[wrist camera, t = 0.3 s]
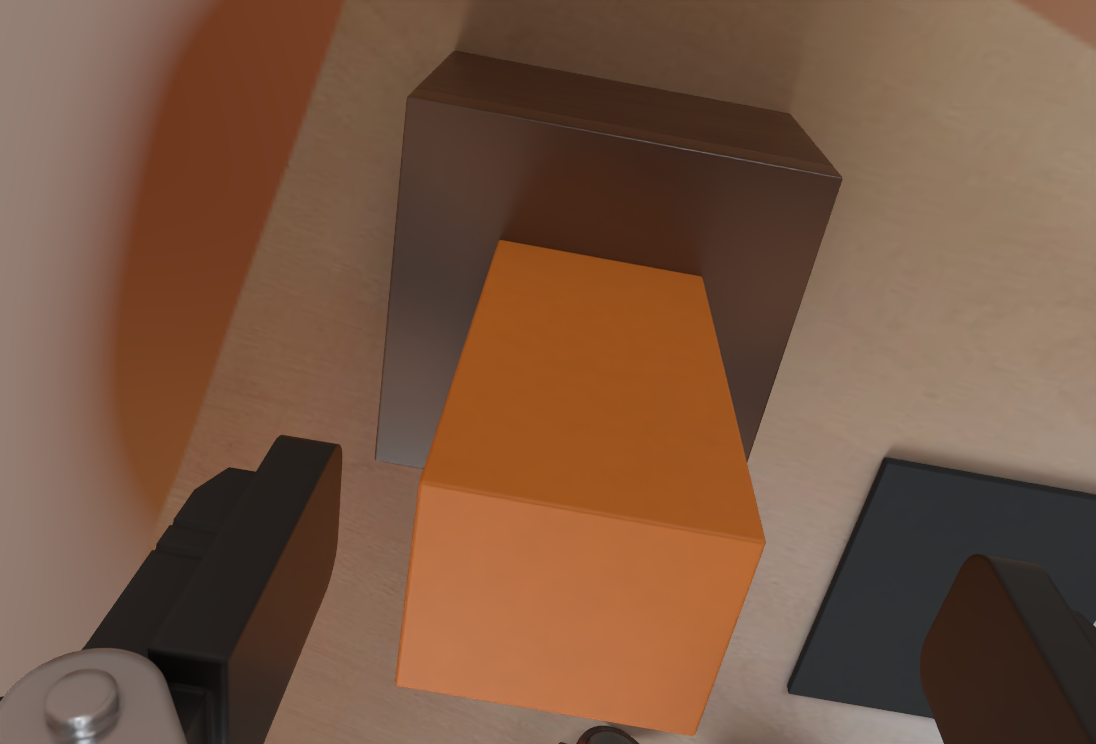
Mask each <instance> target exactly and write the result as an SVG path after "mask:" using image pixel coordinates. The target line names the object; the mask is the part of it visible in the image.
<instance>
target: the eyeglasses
mask: <svg viewBox="0 0 1096 744" xmlns="http://www.w3.org/2000/svg"><path fill="white" fill-rule="evenodd" d="M559 744H566V743H563V742H560V743H559ZM577 744H639V743H638V742H637V741H636V740H635V739H633V738H632V737H631V736H629V735H628V734H626V733H624V732H623V731H621V730H618V729H616V728H613V727H609V726H597V727H593V728H591V729H589V730H587V731H586V732H585V733H584V734H583V735H582V736H581V737H580V738H579V740H578V742H577Z"/></svg>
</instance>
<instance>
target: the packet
mask: <svg viewBox="0 0 1096 744" xmlns="http://www.w3.org/2000/svg"><path fill="white" fill-rule="evenodd" d="M765 544H766V541H765V537H764V532H763V528H762V524H761V520H760V516H759V512H758V507H757V503H756V499H755V495H754V491H753V487H752V482H751V478H750V474H749V470H748V466H747V462H746V457H745V453H744V449H743V445H742V441H741V437H740V432H739V428H738V424H737V420H736V416H735V412H734V407H733V403H732V399H731V395H730V391H729V387H728V382H727V378H726V374H725V370H724V366H723V362H722V357H721V353H720V349H719V345H718V341H717V337H716V332H715V328H714V324H713V320H712V316H711V312H710V307H709V303H708V299H707V295H706V291H705V287H704V282H703V278H702V277H701V276H696V275H690V274H685V273H679V272H674V271H668V270H663V269H657V268H652V267H647V266H641V265H636V264H630V263H625V262H619V261H614V260H608V259H603V258H597V257H592V256H586V255H581V254H575V253H570V252H564V251H559V250H554V249H548V248H543V247H537V246H532V245H526V244H521V243H515V242H510V241H504V240H499V241H498V244H497V247H496V250H495V253H494V256H493V259H492V262H491V265H490V268H489V271H488V274H487V277H486V280H485V283H484V286H483V289H482V292H481V295H480V298H479V301H478V304H477V308H476V311H475V314H474V317H473V320H472V323H471V326H470V329H469V332H468V335H467V338H466V341H465V344H464V347H463V350H462V353H461V356H460V359H459V362H458V365H457V368H456V371H455V374H454V377H453V381H452V384H451V387H450V390H449V393H448V396H447V399H446V402H445V405H444V408H443V411H442V414H441V417H440V420H439V423H438V426H437V429H436V432H435V435H434V438H433V441H432V444H431V447H430V451H429V454H428V457H427V460H426V463H425V466H424V469H423V472H422V475H421V478H420V481H419V487H418V496H417V504H416V512H415V520H414V529H413V537H412V545H411V554H410V562H409V570H408V578H407V587H406V595H405V603H404V612H403V620H402V628H401V636H400V645H399V653H398V661H397V670H396V678H395V682H396V685H397V686H400V687H406V688H412V689H418V690H424V691H430V692H436V693H442V694H448V695H453V696H459V697H465V698H471V699H477V700H483V701H489V702H495V703H501V704H507V705H512V706H518V707H524V708H530V709H536V710H542V711H548V712H554V713H560V714H565V715H571V716H577V717H583V718H589V719H595V720H601V721H607V722H613V723H618V724H624V725H630V726H636V727H642V728H648V729H654V730H660V731H666V732H671V733H677V734H683V735H689V736H694V735H695V733H696V731H697V728H698V725H699V723H700V720H701V717H702V715H703V712H704V709H705V706H706V704H707V701H708V698H709V696H710V693H711V690H712V687H713V685H714V682H715V679H716V677H717V674H718V671H719V668H720V666H721V663H722V660H723V658H724V655H725V652H726V649H727V647H728V644H729V641H730V639H731V636H732V633H733V630H734V628H735V625H736V622H737V620H738V617H739V614H740V611H741V609H742V606H743V603H744V601H745V598H746V595H747V592H748V590H749V587H750V584H751V582H752V579H753V576H754V574H755V571H756V568H757V565H758V563H759V560H760V557H761V555H762V552H763V549H764V546H765Z"/></svg>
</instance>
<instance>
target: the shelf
mask: <svg viewBox="0 0 1096 744" xmlns="http://www.w3.org/2000/svg"><path fill="white" fill-rule="evenodd" d="M841 182H842V176H841V175H840V174H839V173H838V171H837V170H836V169H835V168H834V167H833V165H832V164H831V163H830V161H829V160H828V159H827V158H826V157H825V155H824V154H823V153H822V152H821V151H820V149H819V148H818V147H817V146H816V145H815V143H814V142H813V141H812V140H811V139H810V137H809V136H808V135H807V134H806V132H805V131H804V130H803V129H802V128H801V126H800V125H799V124H798V123H797V122H796V120H795V119H794V118H793V117H792V116H791V114H788V113H782V112H777V111H772V110H766V109H761V108H756V107H750V106H745V105H740V104H734V103H729V102H724V101H718V100H713V99H708V98H702V97H697V96H692V95H686V94H681V93H676V92H670V91H665V90H660V89H654V88H649V87H644V86H638V85H633V84H628V83H623V82H617V81H612V80H607V79H601V78H596V77H591V76H585V75H580V74H575V73H569V72H564V71H559V70H553V69H548V68H543V67H537V66H532V65H527V64H521V63H516V62H511V61H505V60H500V59H495V58H489V57H484V56H479V55H473V54H468V53H463V52H457V51H453V52H452V53H451V54H450V55H449V56H448V57H447V58H446V59H445V60H444V61H443V62H442V63H441V64H440V65H439V66H438V67H437V68H436V69H435V70H434V71H433V72H432V73H431V74H430V75H429V76H428V77H427V78H426V79H425V80H424V81H423V82H422V83H421V84H420V85H419V86H418V87H417V88H416V89H415V90H414V91H413V92H412V93H411V94H410V95H409V96H408V97H407V103H406V114H405V125H404V136H403V147H402V159H401V170H400V181H399V192H398V203H397V214H396V226H395V237H394V248H393V259H392V270H391V282H390V293H389V304H388V315H387V326H386V338H385V349H384V360H383V371H382V382H381V393H380V405H379V416H378V427H377V438H376V449H375V460H376V461H380V462H386V463H392V464H397V465H403V466H409V467H415V468H420V469H424V466H425V463H426V460H427V457H428V454H429V451H430V447H431V444H432V441H433V438H434V435H435V432H436V429H437V426H438V423H439V420H440V417H441V414H442V411H443V408H444V405H445V402H446V399H447V396H448V393H449V390H450V387H451V384H452V381H453V377H454V374H455V371H456V368H457V365H458V362H459V359H460V356H461V353H462V350H463V347H464V344H465V341H466V338H467V335H468V332H469V329H470V326H471V323H472V320H473V317H474V314H475V311H476V308H477V304H478V301H479V298H480V295H481V292H482V289H483V286H484V283H485V280H486V277H487V274H488V271H489V268H490V265H491V262H492V259H493V256H494V253H495V250H496V247H497V244H498V241H499V240H504V241H510V242H515V243H521V244H526V245H532V246H537V247H543V248H548V249H554V250H559V251H564V252H570V253H575V254H581V255H586V256H592V257H597V258H603V259H608V260H614V261H619V262H625V263H630V264H636V265H641V266H647V267H652V268H657V269H663V270H668V271H674V272H679V273H685V274H690V275H696V276H701V277H702V278H703V282H704V287H705V291H706V295H707V299H708V303H709V307H710V312H711V316H712V320H713V324H714V328H715V332H716V337H717V341H718V345H719V349H720V353H721V357H722V362H723V366H724V370H725V374H726V378H727V382H728V387H729V391H730V395H731V399H732V403H733V407H734V412H735V416H736V420H737V424H738V428H739V432H740V437H741V441H742V445H743V449H744V453H745V457H746V462H747V461H748V458H749V455H750V452H751V449H752V446H753V444H754V441H755V438H756V435H757V432H758V429H759V426H760V423H761V420H762V417H763V414H764V411H765V408H766V405H767V402H768V399H769V396H770V393H771V390H772V387H773V384H774V381H775V378H776V375H777V372H778V369H779V366H780V363H781V360H782V357H783V354H784V351H785V348H786V345H787V342H788V340H789V337H790V334H791V331H792V328H793V325H794V322H795V319H796V316H797V313H798V310H799V307H800V304H801V301H802V298H803V295H804V292H805V289H806V286H807V283H808V280H809V277H810V274H811V271H812V268H813V265H814V262H815V259H816V256H817V253H818V250H819V247H820V244H821V241H822V238H823V236H824V233H825V230H826V227H827V224H828V221H829V218H830V215H831V212H832V209H833V206H834V203H835V200H836V197H837V194H838V191H839V188H840V185H841Z"/></svg>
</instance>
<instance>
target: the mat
mask: <svg viewBox="0 0 1096 744" xmlns="http://www.w3.org/2000/svg"><path fill="white" fill-rule="evenodd" d="M974 554H982V555H988V556H994V557H1000V558H1006V559H1012V560H1018V561H1024V562H1030V563H1035V564H1038V565H1040V566H1042V567H1043V568H1044V569H1045V570H1046V572H1047V573H1048V574H1049V576H1050V577H1051V579H1052V581H1053V582H1054V584H1055V585H1056V587H1057V588H1058V590H1059V591H1060V593H1061V595H1062V596H1063V598H1064V599H1065V601H1066V602H1067V604H1068V605H1069V607H1070V609H1071V610H1073V611H1078V612H1079V613H1080V614H1082V615H1083V616H1084V617H1085V618H1086V619H1087V620H1088V621H1089V622H1090V623H1091V624H1094V622H1095V621H1096V495H1093V494H1088V493H1082V492H1077V491H1071V490H1065V489H1060V488H1054V487H1049V486H1043V485H1037V484H1032V483H1026V482H1021V481H1015V480H1009V479H1004V478H998V477H993V476H987V475H981V474H976V473H970V472H965V471H959V470H953V469H948V468H942V467H937V466H931V465H925V464H920V463H914V462H909V461H903V460H897V459H892V458H886V457H885V458H884V460H883V462H882V465H881V467H880V469H879V472H878V474H877V476H876V479H875V481H874V483H873V486H872V488H871V490H870V493H869V495H868V497H867V500H866V502H865V504H864V507H863V509H862V512H861V514H860V516H859V519H858V521H857V523H856V526H855V528H854V530H853V533H852V535H851V537H850V540H849V542H848V544H847V547H846V549H845V551H844V554H843V556H842V558H841V561H840V563H839V565H838V568H837V570H836V573H835V575H834V577H833V580H832V582H831V584H830V587H829V589H828V591H827V594H826V596H825V598H824V601H823V603H822V605H821V608H820V610H819V612H818V615H817V617H816V619H815V622H814V624H813V626H812V629H811V631H810V634H809V636H808V638H807V641H806V643H805V645H804V648H803V650H802V652H801V655H800V657H799V659H798V662H797V664H796V666H795V669H794V671H793V673H792V676H791V678H790V680H789V683H788V685H787V688H788V692H789V694H794V695H800V696H806V697H812V698H818V699H824V700H830V701H835V702H841V703H847V704H853V705H859V706H865V707H870V708H876V709H882V710H888V711H894V712H900V713H905V714H911V715H917V716H923V717H929V718H934V717H933V714H932V711H931V709H930V706H929V704H928V701H927V699H926V696H925V694H924V691H923V688H922V683H921V677H920V657H921V651H922V647H923V643H924V641H925V638H926V636H927V634H928V632H929V630H930V628H931V626H932V624H933V622H934V620H935V618H936V616H937V614H938V612H939V610H940V608H941V606H942V604H943V602H944V600H945V598H946V596H947V594H948V592H949V590H950V588H951V586H952V584H953V582H954V580H955V578H956V576H957V574H958V572H959V570H960V568H961V567H962V565H963V563H964V562H965V561H966V560H967V559H968V558H969V557H970V556H972V555H974Z"/></svg>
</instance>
